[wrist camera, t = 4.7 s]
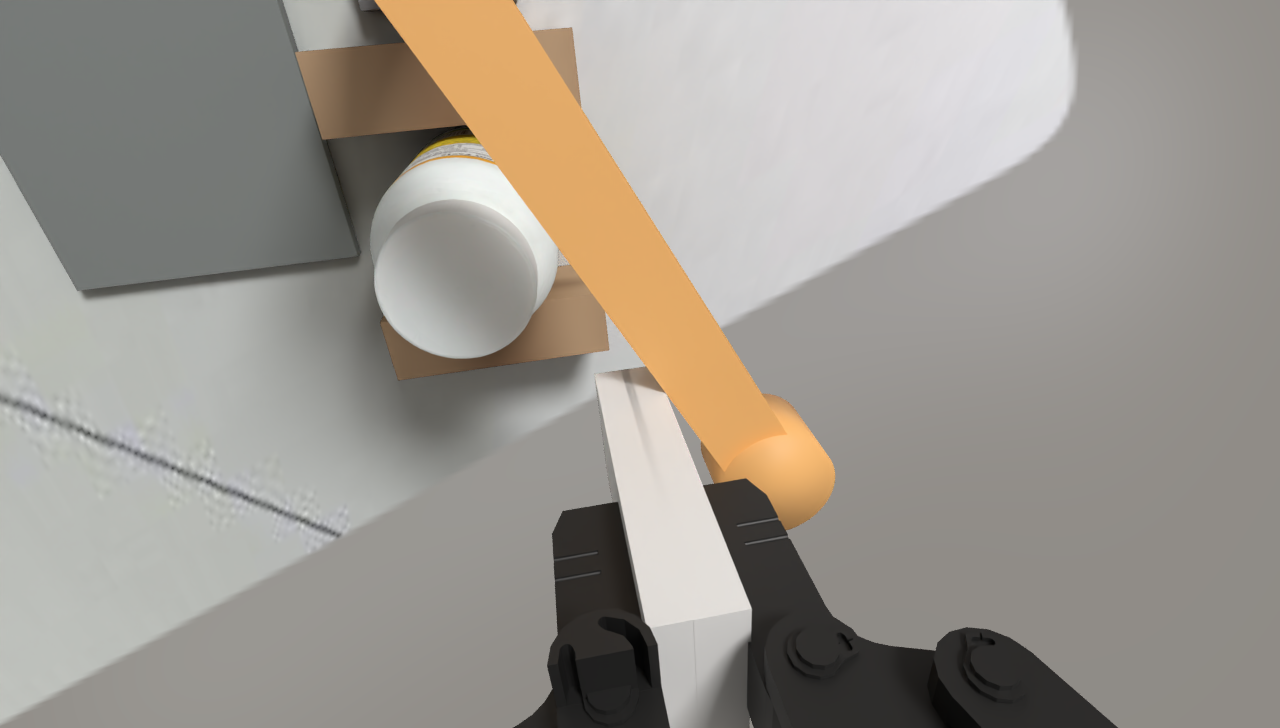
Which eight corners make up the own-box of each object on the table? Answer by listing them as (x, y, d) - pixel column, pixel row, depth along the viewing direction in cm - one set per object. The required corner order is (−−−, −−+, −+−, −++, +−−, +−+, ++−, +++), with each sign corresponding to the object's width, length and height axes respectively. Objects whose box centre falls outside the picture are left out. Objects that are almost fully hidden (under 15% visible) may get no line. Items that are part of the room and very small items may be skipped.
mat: (85, 285, 23) (77, 290, 22) (-90, -31, 18) (-106, -33, 18) (361, 252, 24) (358, 256, 23) (264, -56, 19) (258, -58, 19)
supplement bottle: (436, 98, 22) (378, 138, 13) (574, 163, 24) (598, 234, 15) (391, 233, 24) (317, 341, 15) (522, 284, 26) (519, 406, 17)
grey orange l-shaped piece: (653, 318, 26) (764, 573, 14) (356, -108, 18) (-18, -414, 6) (705, 285, 26) (866, 516, 13) (426, -165, 18) (190, -621, 5)
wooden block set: (413, 339, 26) (398, 380, 23) (262, -183, 18) (206, -229, 15) (600, 313, 27) (609, 350, 24) (538, -197, 18) (540, -243, 15)
